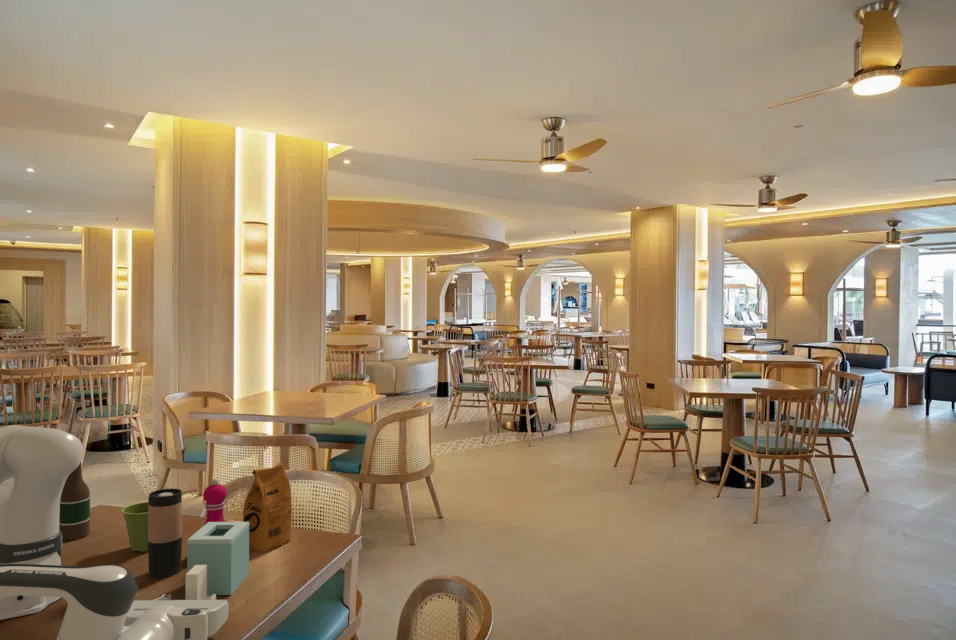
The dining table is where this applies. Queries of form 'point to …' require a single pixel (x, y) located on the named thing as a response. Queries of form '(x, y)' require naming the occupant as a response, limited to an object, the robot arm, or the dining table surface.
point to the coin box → (221, 555)
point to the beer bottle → (74, 507)
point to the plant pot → (137, 525)
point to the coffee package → (268, 509)
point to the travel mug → (164, 532)
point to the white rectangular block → (196, 583)
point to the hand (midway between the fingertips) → (190, 597)
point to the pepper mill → (215, 501)
